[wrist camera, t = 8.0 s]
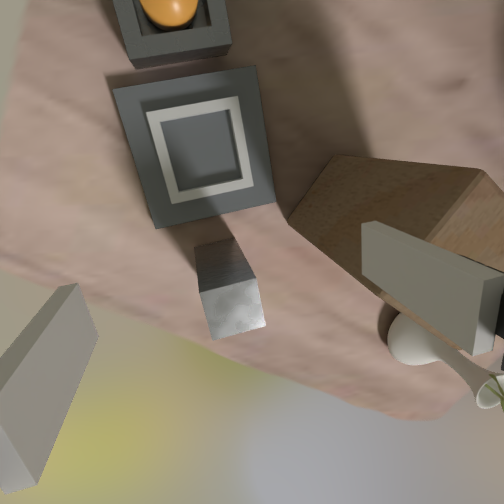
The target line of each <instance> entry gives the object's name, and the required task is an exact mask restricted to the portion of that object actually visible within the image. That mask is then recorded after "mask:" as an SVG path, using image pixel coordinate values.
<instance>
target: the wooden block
mask: <svg viewBox="0 0 504 504" xmlns="http://www.w3.org/2000/svg"><path fill="white" fill-rule="evenodd" d="M372 221H378V222H380V223H383V224H385V225H387V226H390V227H392V228H395V229H397V230H399V231H402V232H404V233H407V234H409V235H411V236H414V237H416V238H419V239H421V240H424V241H426V242H428V243H431V244H433V245H436V246H438V247H440V248H443V249H445V250H448V251H450V252H452V253H455V254H459V255H463V256H465V257H468V258H470V259H473V260H475V262H476V261H478V262H480V263H482V264H485V266H490V267H492V268H495V269H497V270H499V271H502V272H504V192H503V191H502V190H501V189H500V188H499V187H498V186H497V185H496V183H495V182H494V181H493V180H492V179H491V178H490V177H489V176H488V174H487V173H486V172H484V171H483V170H481V169H478V168H468V167H457V166H447V165H437V164H427V163H417V162H407V161H397V160H387V159H377V158H367V157H356V156H346V155H334V156H333V157H332V159H331V160H330V161H329V163H328V164H327V166H326V167H325V168H324V170H323V171H322V173H321V174H320V175H319V177H318V178H317V179H316V181H315V182H314V184H313V185H312V186H311V188H310V189H309V190H308V192H307V193H306V195H305V196H304V197H303V199H302V200H301V202H300V203H299V204H298V206H297V207H296V208H295V210H294V211H293V213H292V214H291V215H290V217H289V218H288V220H287V223H288V225H290V226H291V227H292V228H293V229H295V230H296V231H297V232H298V233H300V234H301V235H302V236H303V237H305V238H306V239H307V240H308V241H309V242H311V243H312V244H313V245H314V246H316V247H317V248H318V249H319V250H321V251H322V252H323V253H324V254H326V255H327V256H328V257H329V258H331V259H332V260H333V261H334V262H336V263H337V264H338V265H339V266H340V267H342V268H343V269H344V270H345V271H347V272H348V273H349V274H350V275H352V276H353V277H354V278H355V279H357V280H358V281H359V282H360V283H362V284H363V285H364V286H365V287H367V288H368V289H369V290H370V291H371V292H373V293H374V294H375V295H376V296H378V297H379V298H381V299H382V300H383V301H385V302H386V303H388V304H389V305H391V306H392V307H394V308H395V309H397V310H398V311H400V312H401V313H402V314H404V315H405V316H407V317H408V318H410V319H411V320H413V321H414V322H416V323H417V324H419V325H420V326H422V327H423V328H424V329H426V330H427V331H429V332H430V333H432V334H433V335H435V336H436V337H438V338H439V339H441V340H442V341H443V342H445V343H446V344H448V345H449V346H451V347H452V348H454V349H457V350H462V348H461V347H459V346H458V345H457V344H455V343H454V342H453V341H451V340H450V339H449V338H447V337H446V336H444V335H443V334H442V333H440V332H439V331H438V330H436V329H435V328H434V327H432V326H431V325H430V324H428V323H427V322H426V321H424V320H423V319H422V318H420V317H419V316H418V315H416V314H415V313H413V312H412V311H411V310H409V309H408V308H407V307H405V306H404V305H403V304H401V303H400V302H399V301H397V300H396V299H395V298H393V297H392V296H391V295H389V294H388V293H386V292H385V291H384V290H382V289H381V288H380V287H378V286H377V285H376V284H374V283H373V282H372V281H370V280H369V279H368V278H366V277H365V276H364V275H362V236H361V224H362V223H367V222H372Z"/></svg>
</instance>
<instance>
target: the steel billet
mask: <svg viewBox="0 0 504 504" xmlns="http://www.w3.org/2000/svg"><path fill="white" fill-rule="evenodd" d="M194 249H195V258H196V267H197V276H198V286H199V294H200V297H201V301H202V304H203V308H204V312H205V315H206V319H207V322H208V326H209V330H210V333H211V337H212V340H217V339H220V338H224V337H227V336H231V335H235V334H238V333H242V332H245V331H249V330H252V329H256V328H259V327H263V326H266V325H265V320H264V315H263V310H262V305H261V300H260V295H259V289H258V284H257V279H256V277H255V275H254V273H253V271H252V269H251V267H250V265H249V263H248V262H247V260H246V258H245V256H244V254H243V252H242V250H241V248H240V246H239V245H238V243H237V241H236V239H235V238H231V239H227V240H223V241H219V242H214V243H210V244H206V245H202V246H198V247H194Z"/></svg>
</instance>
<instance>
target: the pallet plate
mask: <svg viewBox="0 0 504 504" xmlns="http://www.w3.org/2000/svg"><path fill="white" fill-rule="evenodd" d="M112 90H113V93H114V97H115V100H116V103H117V106H118V110H119V113H120V116H121V119H122V122H123V126H124V129H125V132H126V135H127V138H128V142H129V145H130V148H131V151H132V155H133V158H134V161H135V164H136V167H137V171H138V174H139V177H140V180H141V184H142V187H143V190H144V193H145V196H146V200H147V203H148V206H149V209H150V212H151V216H152V219H153V222H154V225H155V229H159V228H164V227H168V226H173V225H177V224H181V223H186V222H190V221H194V220H199V219H203V218H207V217H212V216H216V215H221V214H225V213H229V212H234V211H238V210H242V209H247V208H251V207H256V206H260V205H264V204H269V203H273V202H276V196H275V190H274V183H273V177H272V170H271V163H270V157H269V150H268V144H267V137H266V131H265V124H264V117H263V111H262V104H261V98H260V91H259V84H258V78H257V71H256V65H254V66H248V67H242V68H236V69H230V70H224V71H218V72H212V73H206V74H200V75H194V76H188V77H182V78H176V79H170V80H164V81H159V82H153V83H147V84H141V85H135V86H129V87H123V88H117V89H112Z"/></svg>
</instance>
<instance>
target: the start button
mask: <svg viewBox="0 0 504 504" xmlns="http://www.w3.org/2000/svg"><path fill="white" fill-rule="evenodd" d="M139 2H140V5H141V7H142V10H143V12H144V14H145V15H146V17H147V18H148V19H149V20H150V21H151V22H152V23H153V24H154V25H155V26H156V27H158V28H160V29H162V30H164V31H168V32H175V31H181V30H183V29H185V28H186V27H187V26H189V25H190V24H191V22H192V21H193V19H194V17H195V15H196V12H197V6H198V0H139Z"/></svg>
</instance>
